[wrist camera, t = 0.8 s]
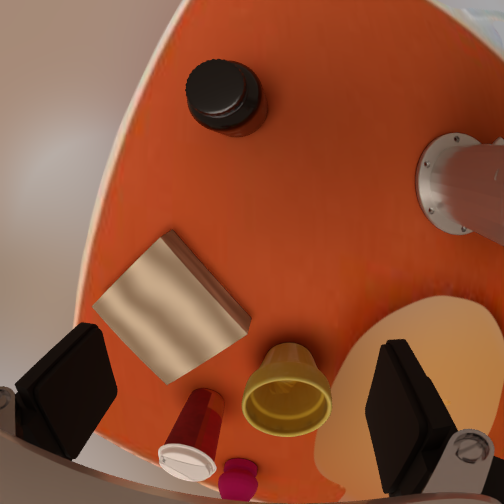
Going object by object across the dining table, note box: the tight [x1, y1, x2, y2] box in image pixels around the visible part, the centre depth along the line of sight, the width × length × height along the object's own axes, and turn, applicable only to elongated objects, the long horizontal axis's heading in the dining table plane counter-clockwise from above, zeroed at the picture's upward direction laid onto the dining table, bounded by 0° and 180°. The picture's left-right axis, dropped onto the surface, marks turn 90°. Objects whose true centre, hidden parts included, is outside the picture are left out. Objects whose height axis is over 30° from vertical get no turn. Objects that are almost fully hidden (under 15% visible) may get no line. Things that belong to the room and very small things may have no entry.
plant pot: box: [242, 343, 332, 437], centre depth 37 cm, size 10×10×10 cm
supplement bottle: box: [185, 59, 268, 137], centre depth 28 cm, size 7×7×12 cm
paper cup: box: [158, 388, 224, 482], centre depth 39 cm, size 8×8×14 cm
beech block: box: [92, 229, 251, 385], centre depth 40 cm, size 15×15×4 cm
